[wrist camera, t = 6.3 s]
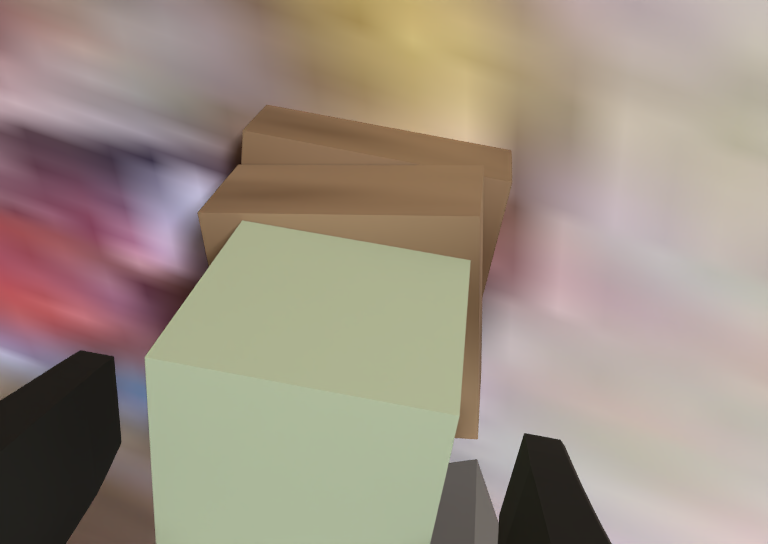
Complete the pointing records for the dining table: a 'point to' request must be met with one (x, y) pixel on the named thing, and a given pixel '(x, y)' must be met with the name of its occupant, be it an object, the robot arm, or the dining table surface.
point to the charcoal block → (465, 508)
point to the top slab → (370, 224)
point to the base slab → (376, 154)
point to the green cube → (307, 393)
